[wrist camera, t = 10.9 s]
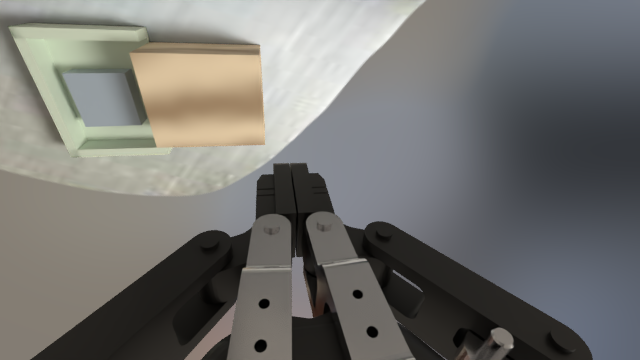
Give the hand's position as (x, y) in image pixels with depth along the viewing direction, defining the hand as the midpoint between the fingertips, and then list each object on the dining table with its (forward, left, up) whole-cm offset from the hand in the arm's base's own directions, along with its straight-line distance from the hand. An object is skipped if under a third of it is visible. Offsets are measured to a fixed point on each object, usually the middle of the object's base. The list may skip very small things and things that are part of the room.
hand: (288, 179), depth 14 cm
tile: (+4, -19, -24) cm, 31 cm away
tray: (+4, -19, -27) cm, 33 cm away
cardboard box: (+4, -7, -27) cm, 28 cm away
